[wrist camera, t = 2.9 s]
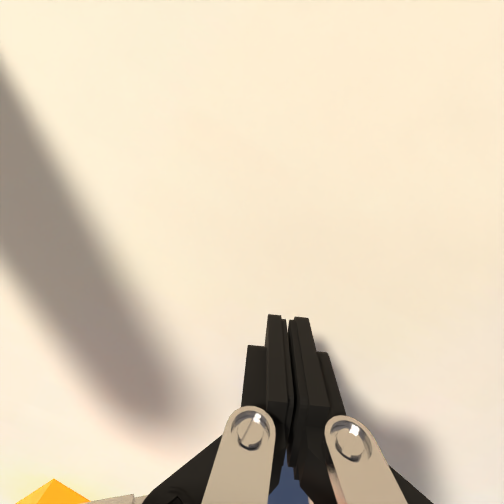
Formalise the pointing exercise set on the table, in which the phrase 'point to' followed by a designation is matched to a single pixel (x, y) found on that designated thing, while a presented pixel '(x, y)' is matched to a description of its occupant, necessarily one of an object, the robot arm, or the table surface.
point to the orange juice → (53, 495)
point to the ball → (287, 488)
